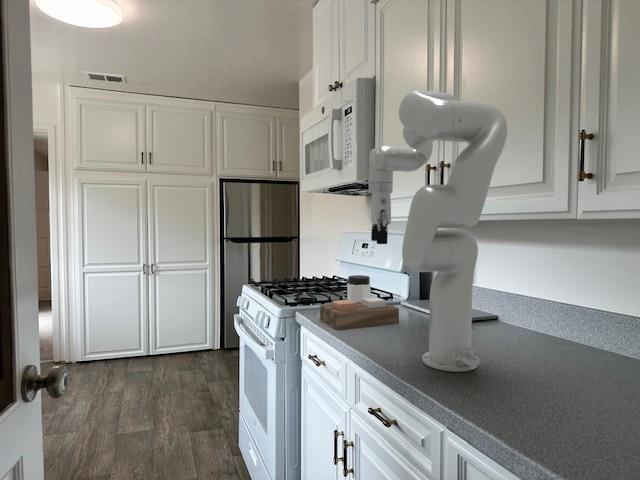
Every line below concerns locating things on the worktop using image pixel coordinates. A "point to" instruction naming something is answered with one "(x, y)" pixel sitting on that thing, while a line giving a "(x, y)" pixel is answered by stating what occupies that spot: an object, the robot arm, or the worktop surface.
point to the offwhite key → (373, 302)
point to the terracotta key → (344, 305)
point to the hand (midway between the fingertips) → (378, 242)
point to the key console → (359, 316)
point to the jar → (358, 288)
